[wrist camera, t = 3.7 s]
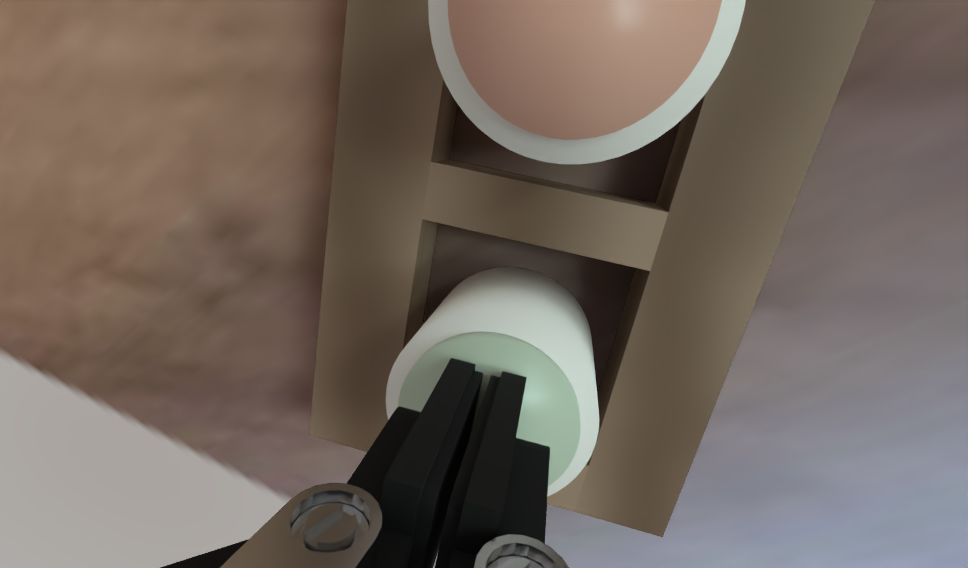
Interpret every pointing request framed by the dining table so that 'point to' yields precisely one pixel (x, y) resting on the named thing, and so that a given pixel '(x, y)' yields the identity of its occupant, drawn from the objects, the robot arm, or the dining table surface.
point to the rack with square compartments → (575, 234)
